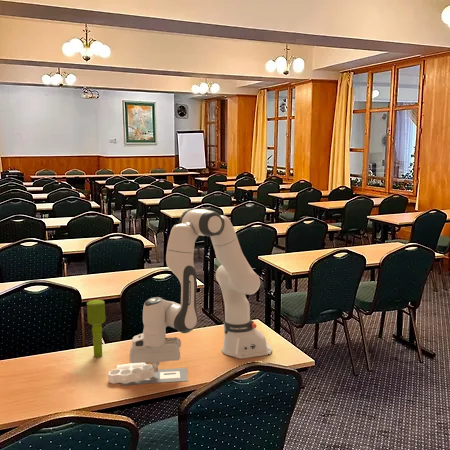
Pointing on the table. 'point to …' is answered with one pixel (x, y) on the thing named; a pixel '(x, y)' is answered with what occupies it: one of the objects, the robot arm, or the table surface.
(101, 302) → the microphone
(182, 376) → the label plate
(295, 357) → the table surface
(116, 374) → the knuckle duster
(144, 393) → the table surface
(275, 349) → the table surface
